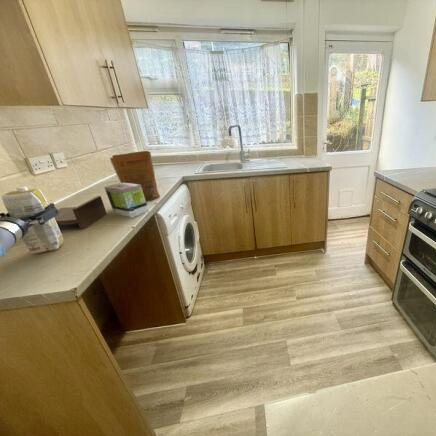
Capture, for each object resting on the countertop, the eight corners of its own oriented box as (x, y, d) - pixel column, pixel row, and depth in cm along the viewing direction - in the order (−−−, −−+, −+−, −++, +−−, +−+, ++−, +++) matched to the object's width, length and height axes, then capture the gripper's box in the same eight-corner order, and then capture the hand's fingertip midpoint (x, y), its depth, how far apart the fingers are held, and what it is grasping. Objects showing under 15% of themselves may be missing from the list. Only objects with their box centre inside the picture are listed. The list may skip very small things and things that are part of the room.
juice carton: (67, 240, 99) (41, 183, 89) (60, 249, 93) (31, 189, 83) (37, 246, 96) (7, 187, 86) (27, 256, 89) (-7, 193, 79)
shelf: (35, 233, 107) (24, 212, 103) (65, 217, 123) (57, 198, 119) (84, 229, 109) (75, 209, 105) (107, 214, 125) (100, 195, 121)
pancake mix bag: (163, 199, 144) (149, 151, 133) (126, 205, 137) (108, 155, 125) (163, 196, 150) (150, 149, 138) (127, 202, 143) (110, 153, 131)
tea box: (149, 211, 127) (141, 183, 121) (130, 218, 119) (120, 189, 113) (132, 207, 134) (123, 181, 128) (113, 214, 126) (102, 186, 120)
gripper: (-41, 252, 70) (0, 223, 89) (57, 235, 79) (76, 212, 98) (-56, 229, 67) (-10, 204, 86) (48, 213, 76) (69, 194, 95)
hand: (36, 208), depth 92 cm, fingers closed on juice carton, 9 cm apart
